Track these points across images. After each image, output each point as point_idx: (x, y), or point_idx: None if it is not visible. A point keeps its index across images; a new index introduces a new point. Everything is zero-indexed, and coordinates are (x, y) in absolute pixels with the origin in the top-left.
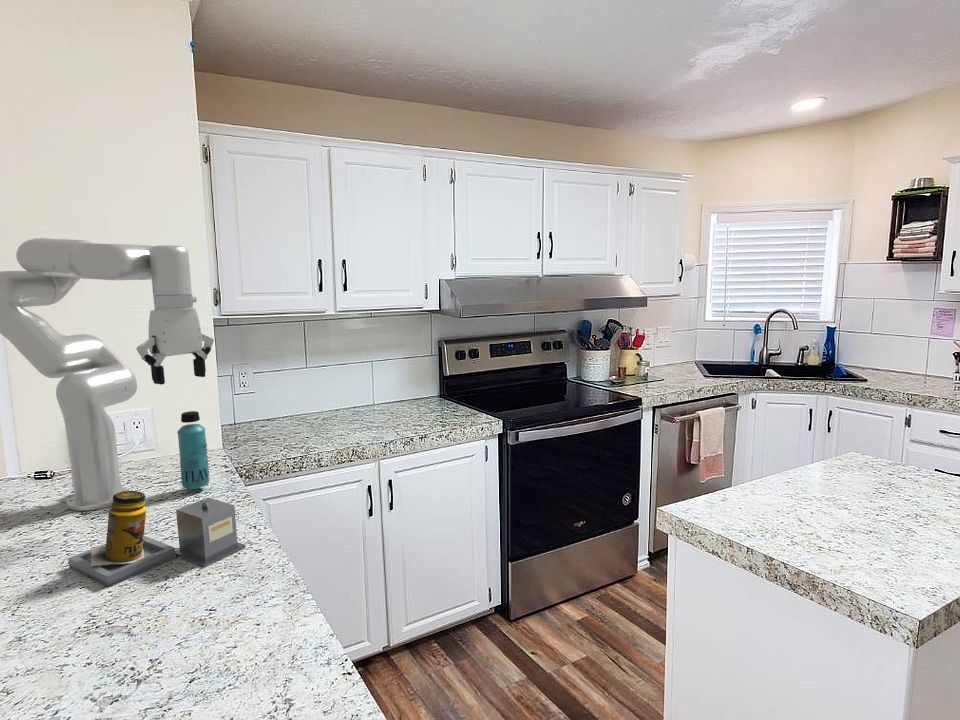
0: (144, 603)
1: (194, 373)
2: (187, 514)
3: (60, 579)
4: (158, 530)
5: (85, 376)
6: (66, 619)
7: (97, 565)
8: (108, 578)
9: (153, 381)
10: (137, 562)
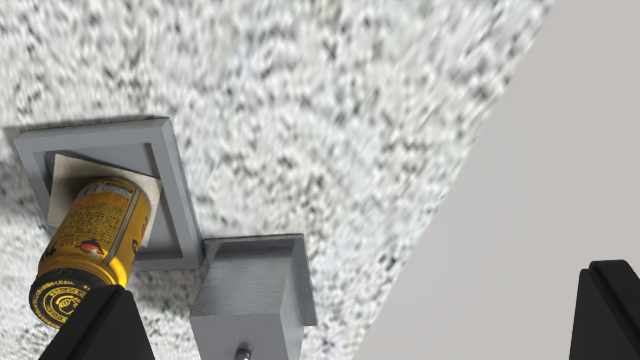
0: None
1: (590, 286)
2: (199, 350)
3: (9, 164)
4: (232, 97)
5: None
6: (12, 299)
7: (58, 226)
8: None
9: (89, 292)
10: None
